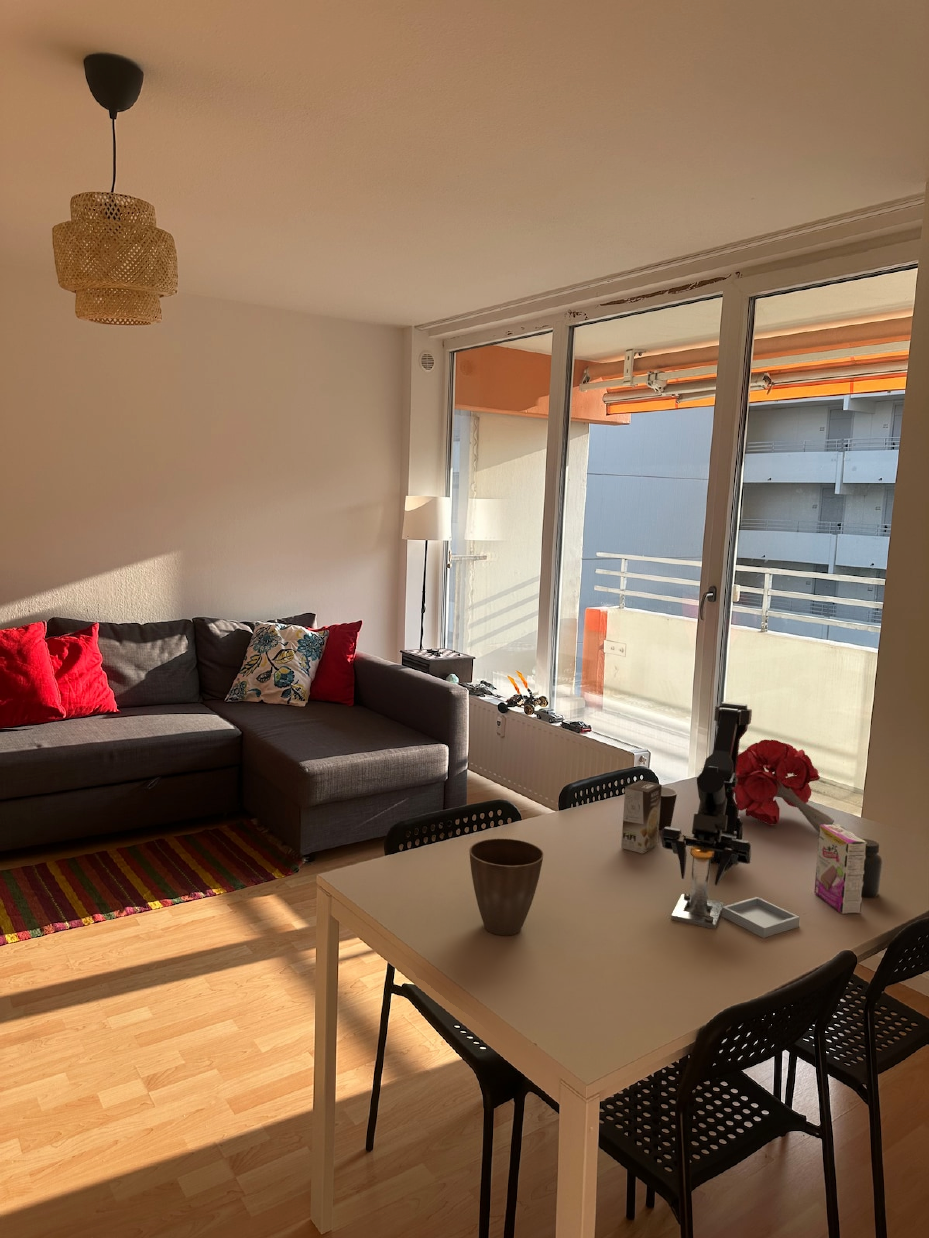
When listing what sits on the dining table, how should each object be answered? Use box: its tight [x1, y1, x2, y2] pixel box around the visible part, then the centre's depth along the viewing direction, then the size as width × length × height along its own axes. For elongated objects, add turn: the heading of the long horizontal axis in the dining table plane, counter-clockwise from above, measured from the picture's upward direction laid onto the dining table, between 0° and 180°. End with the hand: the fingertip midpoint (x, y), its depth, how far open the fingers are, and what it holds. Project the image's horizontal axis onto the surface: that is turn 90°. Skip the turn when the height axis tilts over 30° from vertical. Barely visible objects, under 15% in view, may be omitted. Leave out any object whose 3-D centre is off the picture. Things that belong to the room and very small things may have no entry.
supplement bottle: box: [861, 838, 883, 899], centre depth 204 cm, size 7×7×12 cm
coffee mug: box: [659, 786, 678, 832], centre depth 244 cm, size 12×9×10 cm
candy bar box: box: [813, 823, 867, 915], centre depth 197 cm, size 11×5×16 cm, turn 9°
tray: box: [721, 896, 801, 939], centre depth 187 cm, size 11×11×2 cm
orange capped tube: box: [688, 846, 714, 916], centre depth 189 cm, size 5×5×14 cm
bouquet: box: [734, 739, 835, 833], centre depth 249 cm, size 22×24×30 cm
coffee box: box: [620, 779, 663, 854], centre depth 227 cm, size 9×6×16 cm
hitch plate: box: [670, 893, 725, 930], centre depth 190 cm, size 12×9×2 cm
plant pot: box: [468, 838, 545, 936], centre depth 179 cm, size 15×15×16 cm
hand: (699, 881), depth 188 cm, fingers open, 7 cm apart
